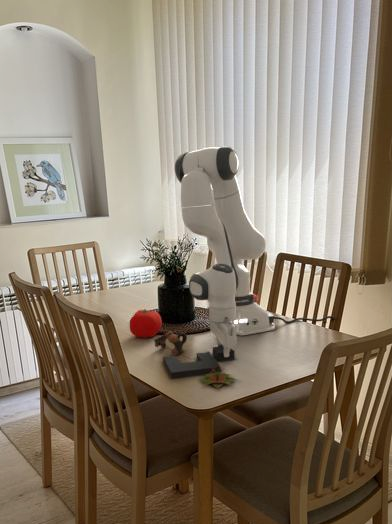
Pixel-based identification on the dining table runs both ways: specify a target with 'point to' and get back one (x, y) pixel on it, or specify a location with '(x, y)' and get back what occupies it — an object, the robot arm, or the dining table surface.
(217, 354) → the pad
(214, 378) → the lily flower
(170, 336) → the brown animal figurine
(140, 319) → the tomato
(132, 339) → the dining table surface
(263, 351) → the dining table surface
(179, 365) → the notched mat
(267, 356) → the dining table surface
